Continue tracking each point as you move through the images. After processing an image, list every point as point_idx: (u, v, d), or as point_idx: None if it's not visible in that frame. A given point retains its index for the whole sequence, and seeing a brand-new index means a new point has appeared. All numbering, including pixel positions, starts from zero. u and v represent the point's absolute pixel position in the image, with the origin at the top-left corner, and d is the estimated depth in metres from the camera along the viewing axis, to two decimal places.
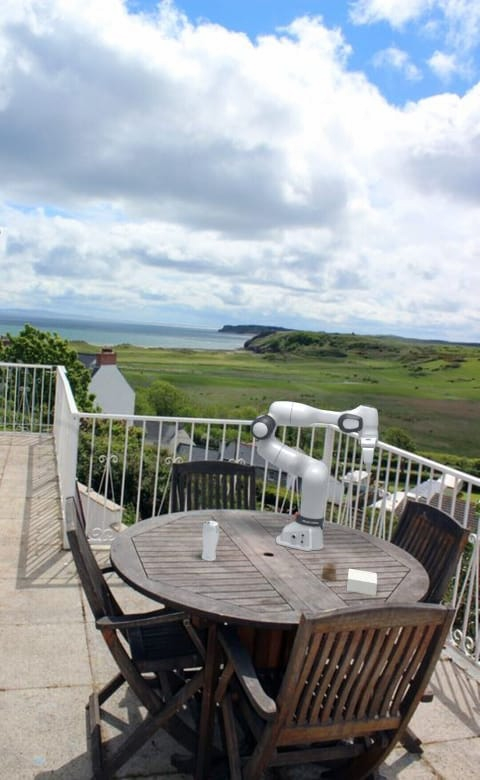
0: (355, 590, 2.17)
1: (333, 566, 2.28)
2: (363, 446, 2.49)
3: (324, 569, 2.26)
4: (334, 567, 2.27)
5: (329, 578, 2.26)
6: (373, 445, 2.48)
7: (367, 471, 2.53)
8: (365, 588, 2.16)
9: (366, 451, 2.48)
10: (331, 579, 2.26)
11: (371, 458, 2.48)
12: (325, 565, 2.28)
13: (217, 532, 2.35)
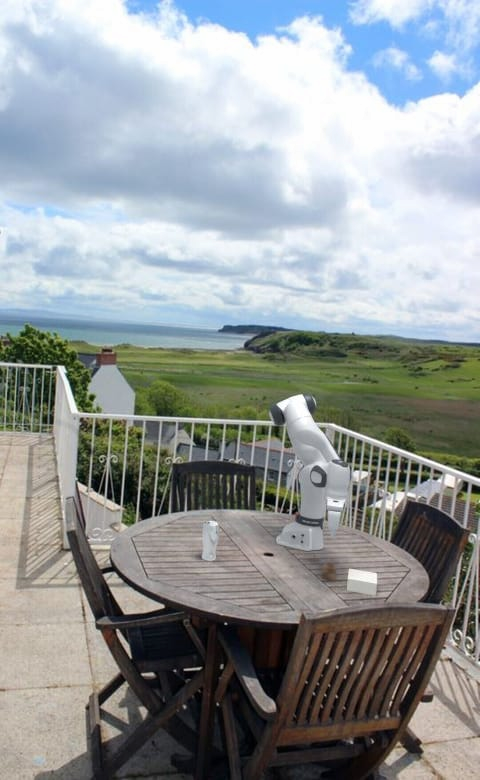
0: (355, 590, 2.17)
1: (333, 566, 2.28)
2: (329, 509, 2.19)
3: (324, 569, 2.26)
4: (334, 567, 2.27)
5: (329, 578, 2.26)
6: (340, 509, 2.17)
7: (331, 537, 2.22)
8: (365, 588, 2.16)
9: (332, 515, 2.17)
10: (331, 579, 2.26)
11: (336, 523, 2.17)
12: (325, 565, 2.28)
13: (217, 532, 2.35)
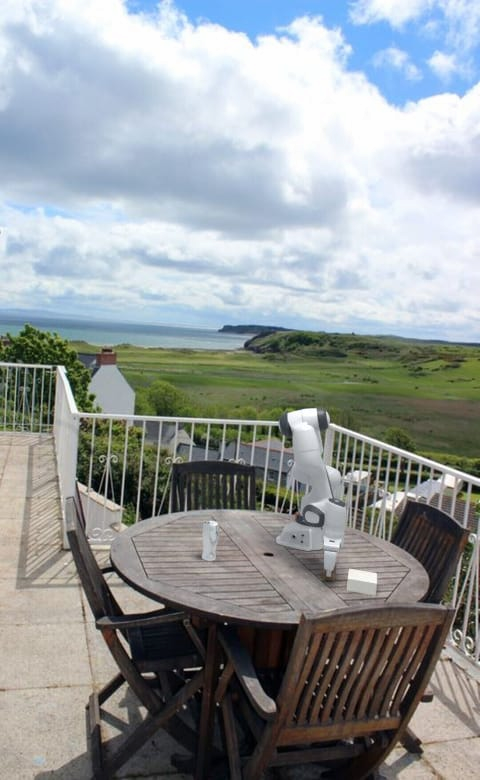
0: (355, 590, 2.17)
1: None
2: (325, 549, 2.20)
3: (324, 569, 2.26)
4: (334, 567, 2.27)
5: (329, 578, 2.26)
6: (336, 549, 2.18)
7: (327, 574, 2.24)
8: (365, 588, 2.16)
9: (328, 556, 2.18)
10: (331, 579, 2.26)
11: (332, 564, 2.18)
12: None
13: (217, 532, 2.35)
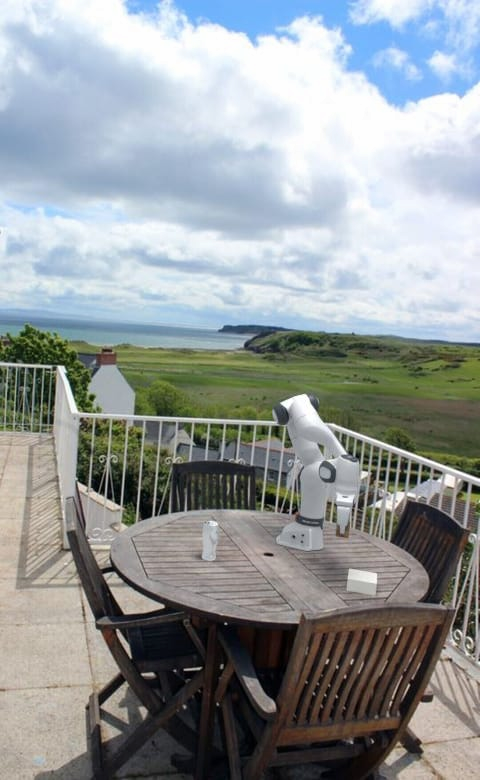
0: (355, 590, 2.17)
1: None
2: (338, 504, 2.16)
3: (337, 526, 2.22)
4: (348, 524, 2.23)
5: (343, 535, 2.22)
6: (350, 504, 2.15)
7: (341, 531, 2.21)
8: (365, 588, 2.16)
9: (341, 511, 2.15)
10: (345, 536, 2.22)
11: (345, 519, 2.14)
12: None
13: (217, 532, 2.35)
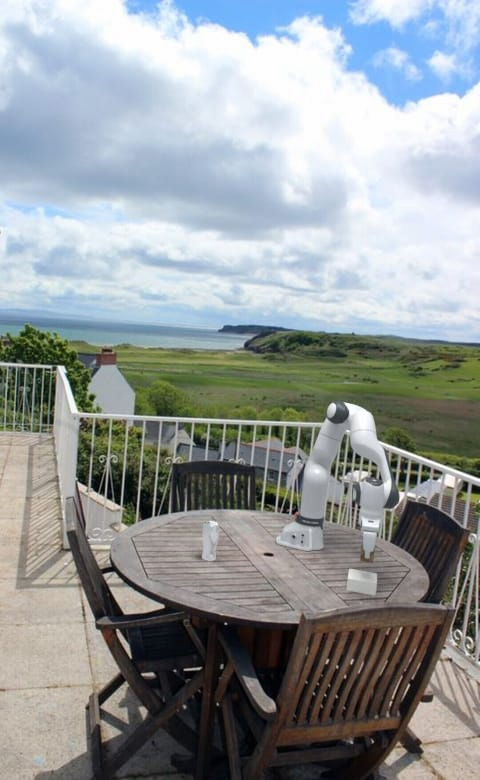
0: (355, 590, 2.17)
1: None
2: (364, 529, 2.12)
3: (362, 550, 2.19)
4: None
5: (368, 560, 2.18)
6: (376, 530, 2.11)
7: (366, 556, 2.17)
8: (365, 588, 2.16)
9: (368, 536, 2.11)
10: (370, 561, 2.18)
11: (372, 544, 2.10)
12: None
13: (217, 532, 2.35)
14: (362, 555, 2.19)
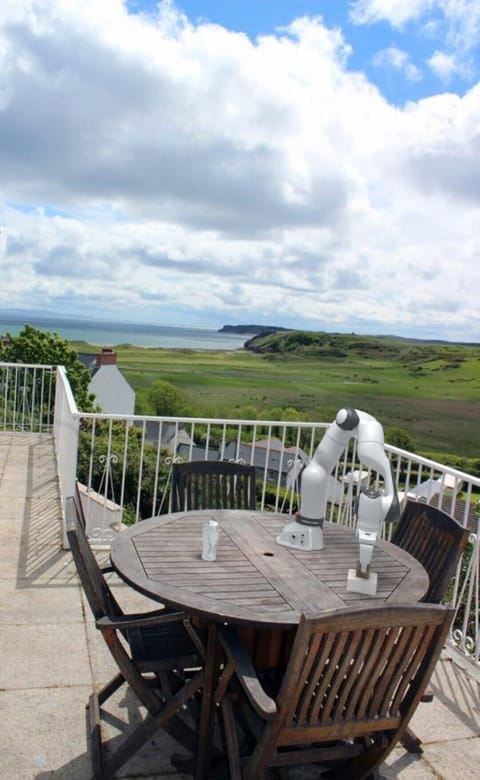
0: (355, 590, 2.17)
1: None
2: (361, 542, 2.12)
3: (358, 566, 2.19)
4: (368, 564, 2.20)
5: (363, 576, 2.19)
6: (373, 542, 2.11)
7: (362, 570, 2.16)
8: (365, 588, 2.16)
9: (364, 549, 2.11)
10: (365, 577, 2.19)
11: (368, 557, 2.11)
12: (359, 562, 2.21)
13: (217, 532, 2.35)
14: (358, 571, 2.19)
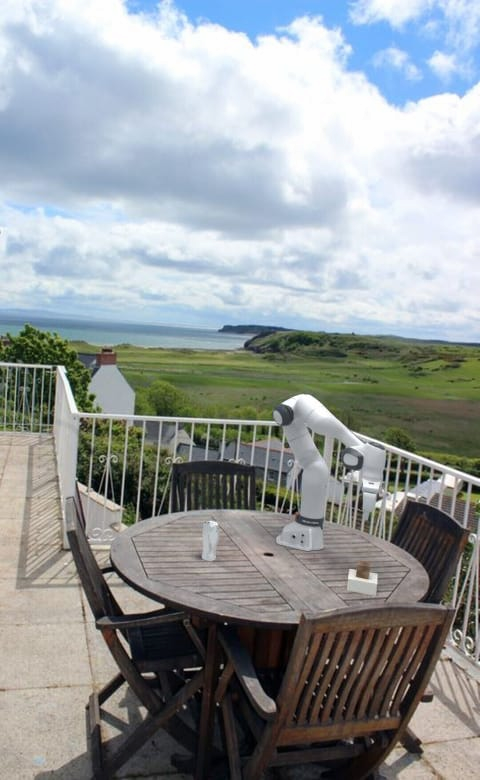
0: (355, 590, 2.17)
1: (367, 564, 2.21)
2: (364, 490, 2.19)
3: (358, 567, 2.19)
4: (368, 565, 2.20)
5: (363, 576, 2.19)
6: (376, 491, 2.18)
7: (365, 518, 2.23)
8: (365, 588, 2.16)
9: (367, 497, 2.18)
10: (365, 577, 2.19)
11: (371, 505, 2.17)
12: (359, 562, 2.21)
13: (217, 532, 2.35)
14: (358, 571, 2.19)
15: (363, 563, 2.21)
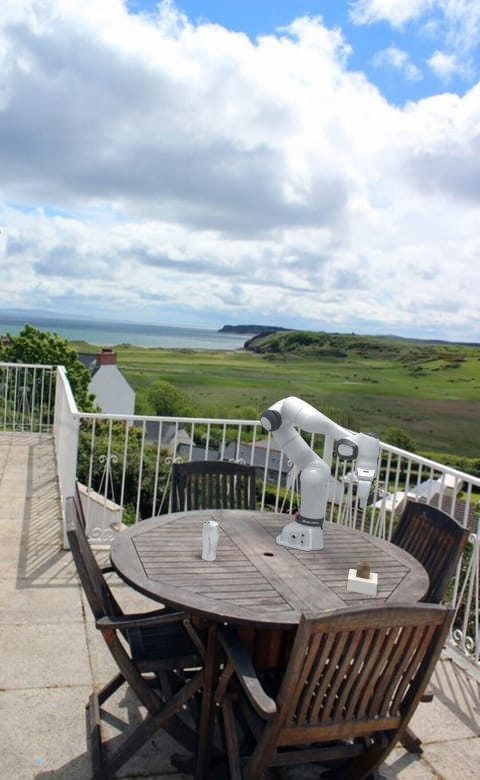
0: (355, 590, 2.17)
1: (367, 564, 2.21)
2: (359, 478, 2.25)
3: (358, 566, 2.19)
4: (368, 565, 2.20)
5: (363, 576, 2.19)
6: (371, 478, 2.24)
7: (361, 506, 2.29)
8: (365, 588, 2.16)
9: (362, 485, 2.24)
10: (365, 577, 2.19)
11: (366, 492, 2.23)
12: (359, 562, 2.21)
13: (217, 532, 2.35)
14: (358, 571, 2.19)
15: (363, 563, 2.21)
